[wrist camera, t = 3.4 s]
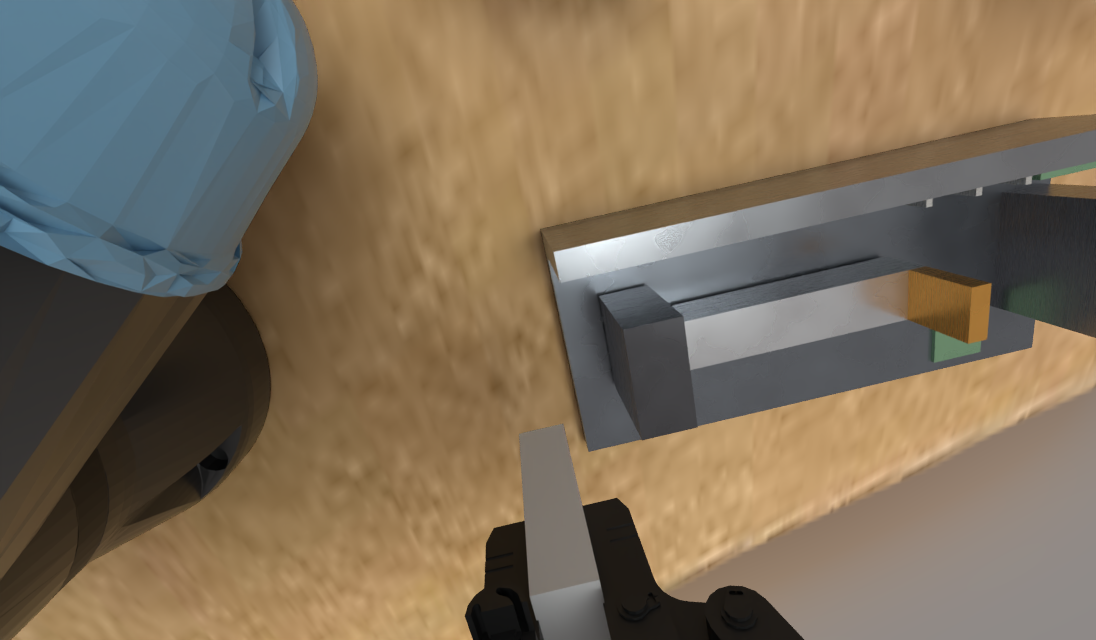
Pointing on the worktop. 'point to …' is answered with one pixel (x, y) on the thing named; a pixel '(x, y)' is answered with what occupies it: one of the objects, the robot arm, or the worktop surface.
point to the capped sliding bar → (770, 327)
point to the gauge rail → (844, 262)
